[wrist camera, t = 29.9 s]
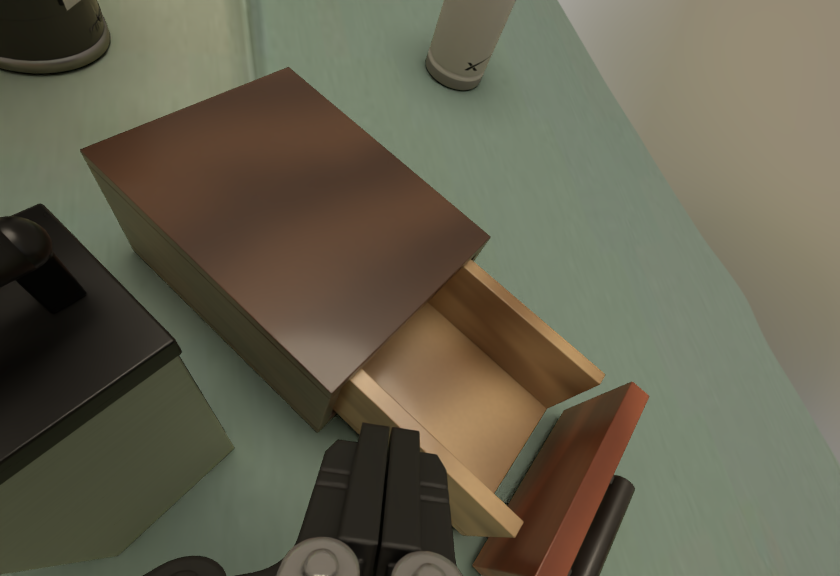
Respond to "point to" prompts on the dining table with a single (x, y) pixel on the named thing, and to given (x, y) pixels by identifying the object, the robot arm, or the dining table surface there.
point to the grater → (87, 405)
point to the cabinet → (284, 230)
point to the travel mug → (466, 40)
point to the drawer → (505, 426)
